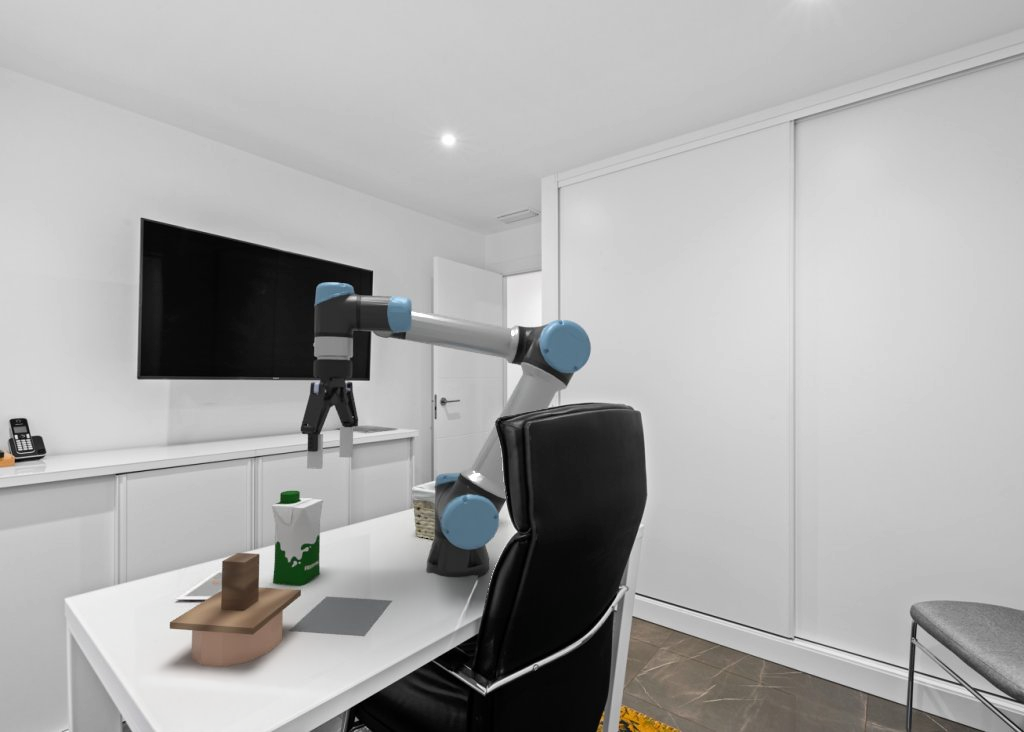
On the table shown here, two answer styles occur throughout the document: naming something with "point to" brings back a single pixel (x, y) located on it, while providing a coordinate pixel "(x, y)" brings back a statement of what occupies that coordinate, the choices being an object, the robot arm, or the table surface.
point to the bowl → (235, 644)
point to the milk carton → (296, 539)
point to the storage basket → (424, 509)
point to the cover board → (236, 618)
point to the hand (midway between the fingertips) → (331, 462)
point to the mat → (342, 616)
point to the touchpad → (204, 588)
